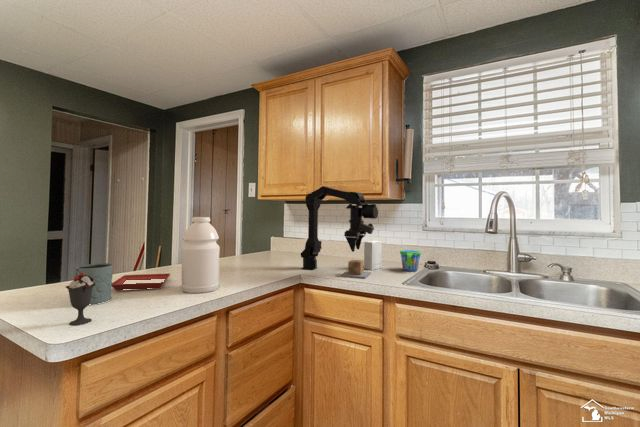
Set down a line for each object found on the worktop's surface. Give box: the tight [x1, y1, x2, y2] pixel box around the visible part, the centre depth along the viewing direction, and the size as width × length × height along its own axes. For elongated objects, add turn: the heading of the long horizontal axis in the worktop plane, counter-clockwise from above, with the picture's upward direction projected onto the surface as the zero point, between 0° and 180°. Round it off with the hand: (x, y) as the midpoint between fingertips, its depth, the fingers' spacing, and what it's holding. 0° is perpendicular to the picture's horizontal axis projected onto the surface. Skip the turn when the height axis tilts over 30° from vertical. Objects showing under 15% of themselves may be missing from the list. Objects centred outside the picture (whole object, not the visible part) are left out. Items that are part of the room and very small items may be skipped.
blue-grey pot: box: [75, 262, 114, 305], centre depth 104 cm, size 10×10×12 cm
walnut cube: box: [347, 259, 365, 275], centre depth 150 cm, size 6×6×6 cm
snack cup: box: [399, 249, 422, 272], centre depth 164 cm, size 16×10×10 cm
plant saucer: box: [111, 273, 171, 291], centre depth 126 cm, size 18×18×3 cm
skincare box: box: [363, 240, 383, 271], centre depth 167 cm, size 8×6×15 cm
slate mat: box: [339, 269, 372, 280], centre depth 150 cm, size 12×12×1 cm
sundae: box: [65, 268, 96, 326], centre depth 85 cm, size 7×7×15 cm
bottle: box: [180, 216, 221, 294], centre depth 122 cm, size 14×14×28 cm
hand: (355, 250), depth 151 cm, fingers open, 9 cm apart
